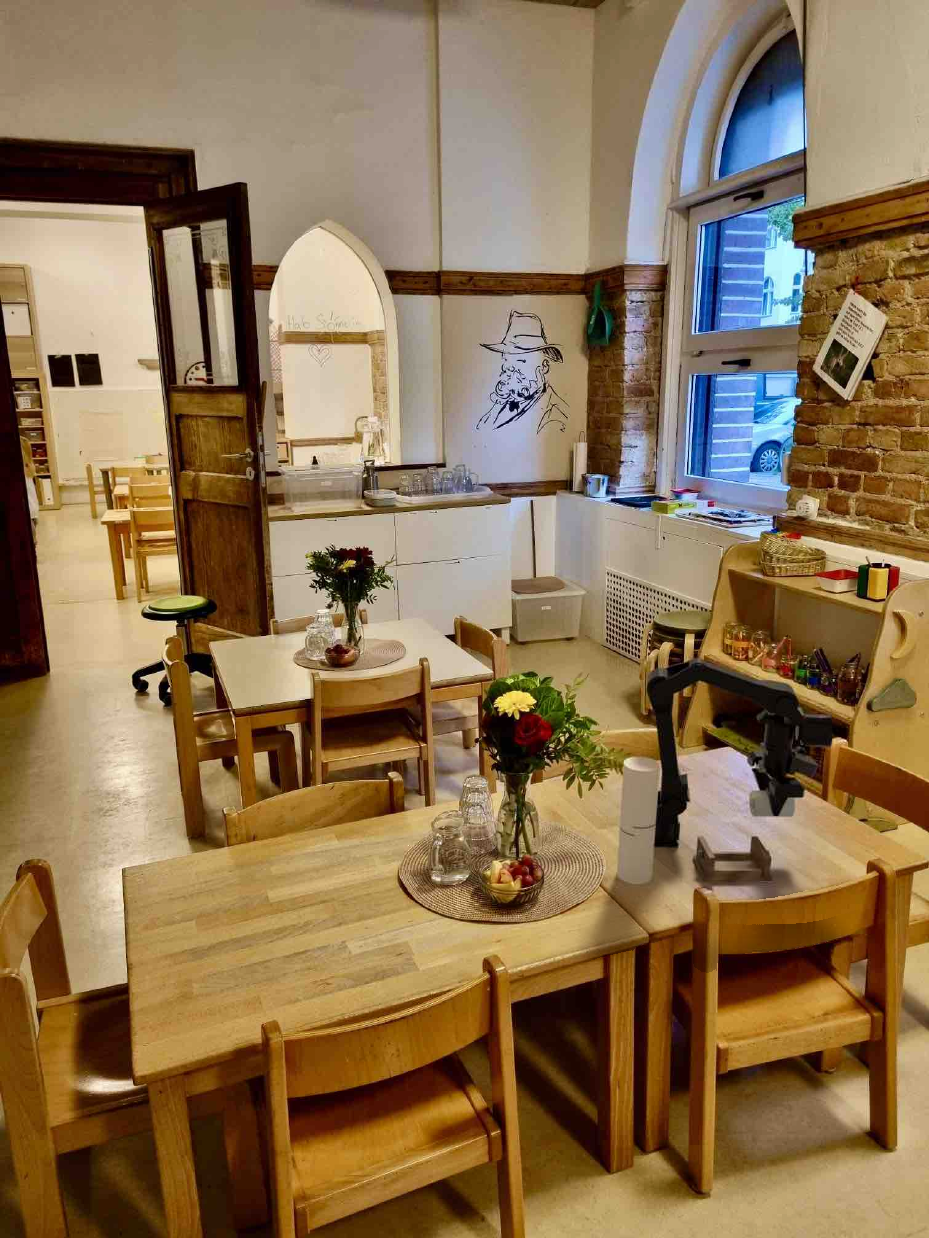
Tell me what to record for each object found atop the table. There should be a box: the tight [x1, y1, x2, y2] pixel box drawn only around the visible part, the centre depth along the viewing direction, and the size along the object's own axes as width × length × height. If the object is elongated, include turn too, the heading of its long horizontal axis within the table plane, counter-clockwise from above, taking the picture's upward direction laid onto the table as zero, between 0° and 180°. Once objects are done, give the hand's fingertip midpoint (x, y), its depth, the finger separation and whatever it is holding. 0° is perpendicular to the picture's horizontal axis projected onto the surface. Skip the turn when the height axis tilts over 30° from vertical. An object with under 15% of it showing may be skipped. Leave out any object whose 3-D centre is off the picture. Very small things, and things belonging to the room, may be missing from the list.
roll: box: [748, 790, 796, 818], centre depth 198 cm, size 9×6×6 cm, turn 91°
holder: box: [692, 835, 773, 883], centre depth 192 cm, size 15×9×6 cm, turn 91°
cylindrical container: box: [616, 756, 661, 885], centre depth 187 cm, size 7×7×25 cm
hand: (771, 809), depth 198 cm, fingers closed on roll, 5 cm apart
